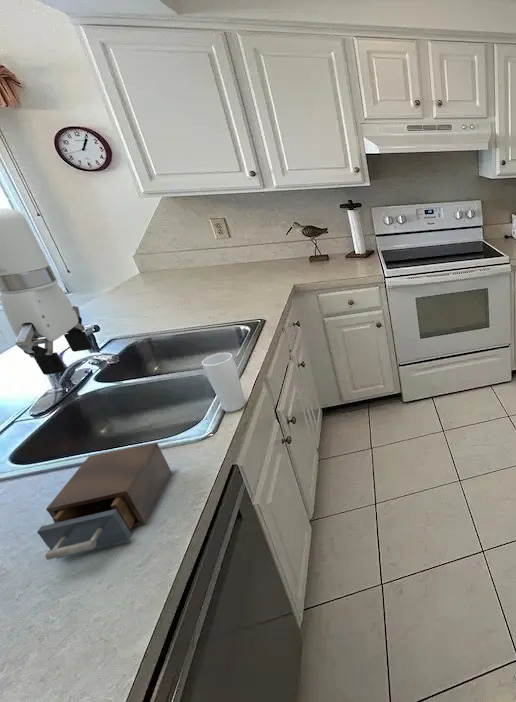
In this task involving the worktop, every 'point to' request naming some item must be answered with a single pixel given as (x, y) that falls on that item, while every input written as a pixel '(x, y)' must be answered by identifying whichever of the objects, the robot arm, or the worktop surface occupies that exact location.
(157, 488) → the cabinet
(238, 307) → the worktop surface
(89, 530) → the drawer
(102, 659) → the worktop surface
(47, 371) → the robot arm
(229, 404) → the drinking glass
